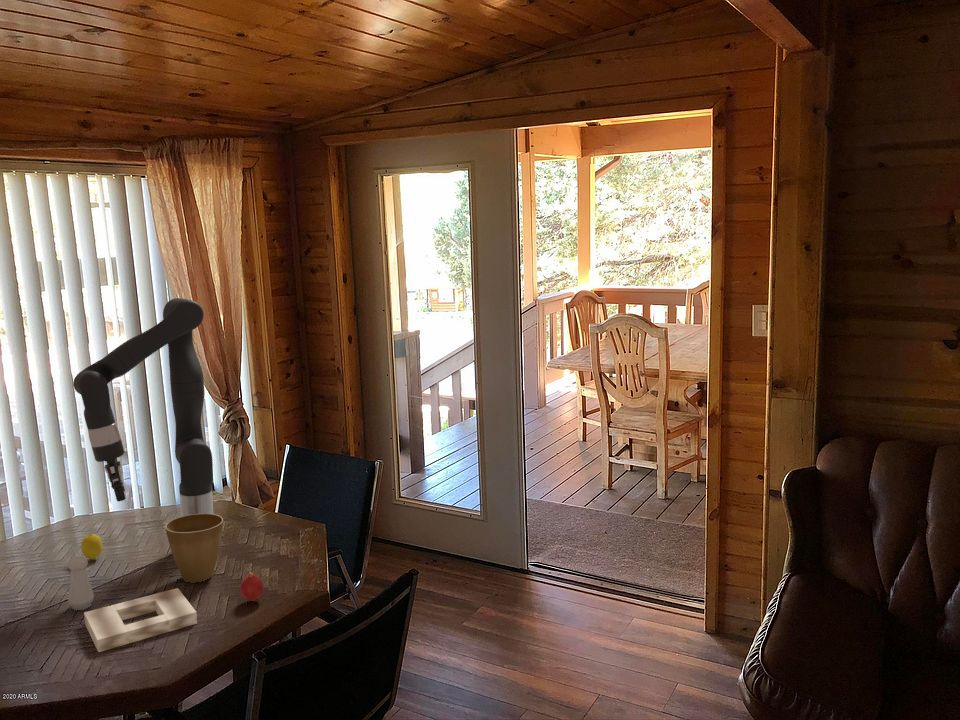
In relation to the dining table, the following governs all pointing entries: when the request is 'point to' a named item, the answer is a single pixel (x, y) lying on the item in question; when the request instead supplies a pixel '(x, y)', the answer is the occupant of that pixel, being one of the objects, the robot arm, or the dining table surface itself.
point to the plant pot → (195, 544)
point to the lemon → (91, 546)
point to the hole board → (114, 633)
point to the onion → (252, 587)
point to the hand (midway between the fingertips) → (121, 496)
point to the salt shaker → (79, 585)
